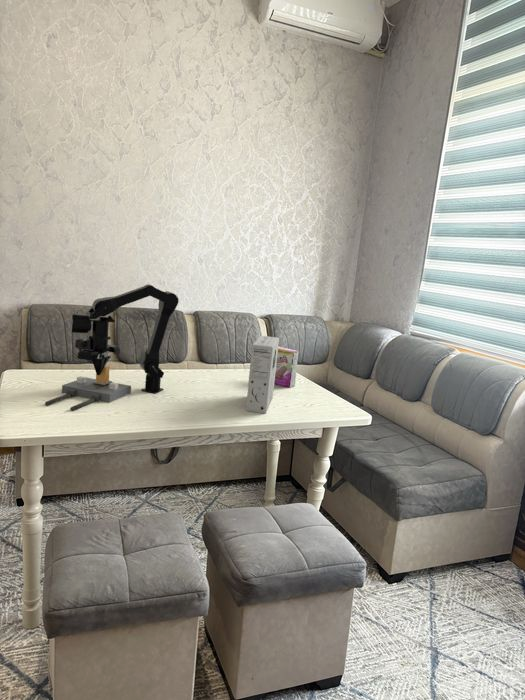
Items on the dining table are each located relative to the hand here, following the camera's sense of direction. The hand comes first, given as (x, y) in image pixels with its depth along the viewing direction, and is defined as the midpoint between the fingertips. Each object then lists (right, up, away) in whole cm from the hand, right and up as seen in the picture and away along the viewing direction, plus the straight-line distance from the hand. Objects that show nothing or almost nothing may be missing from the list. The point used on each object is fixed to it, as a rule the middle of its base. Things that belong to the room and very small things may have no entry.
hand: (98, 374), depth 189 cm
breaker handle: (0, -3, +3) cm, 5 cm away
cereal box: (+60, -12, +8) cm, 62 cm away
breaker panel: (-1, -7, +1) cm, 7 cm away
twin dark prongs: (-5, -9, -12) cm, 16 cm away
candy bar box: (+70, -7, +40) cm, 81 cm away
